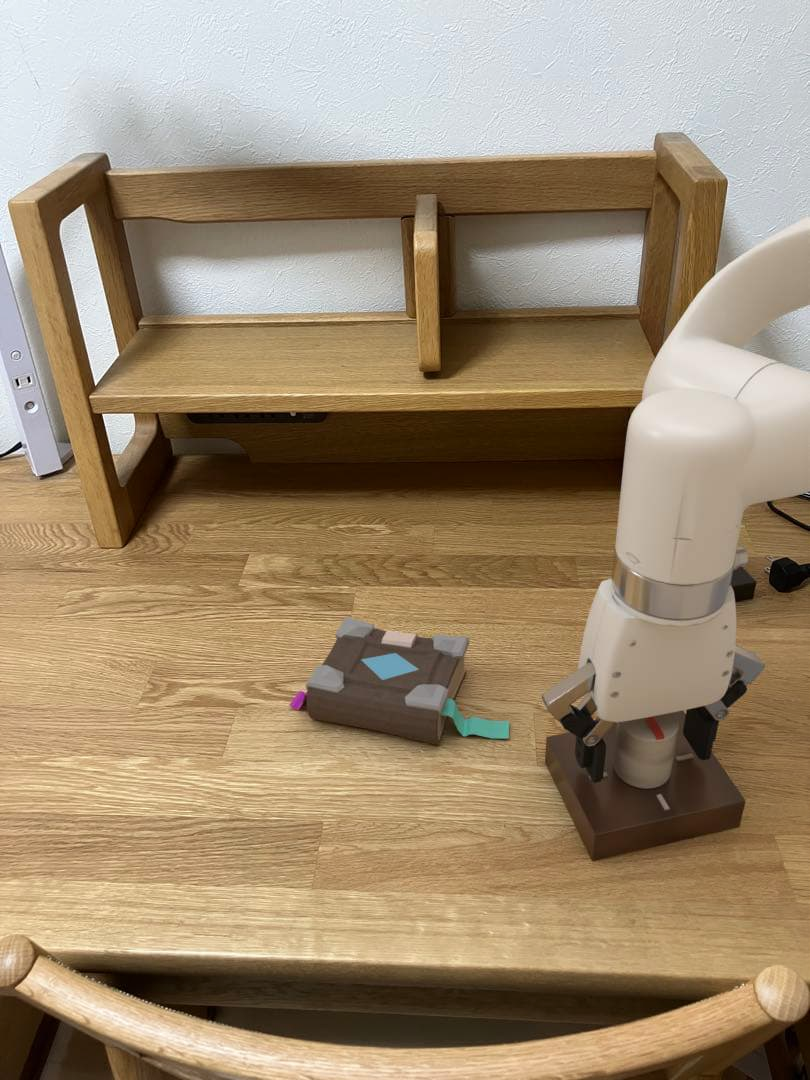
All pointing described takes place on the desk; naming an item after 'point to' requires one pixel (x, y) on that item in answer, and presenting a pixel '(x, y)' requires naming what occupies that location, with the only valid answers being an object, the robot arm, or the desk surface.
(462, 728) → the book
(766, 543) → the desk surface
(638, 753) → the knob
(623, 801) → the panel
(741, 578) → the button block
